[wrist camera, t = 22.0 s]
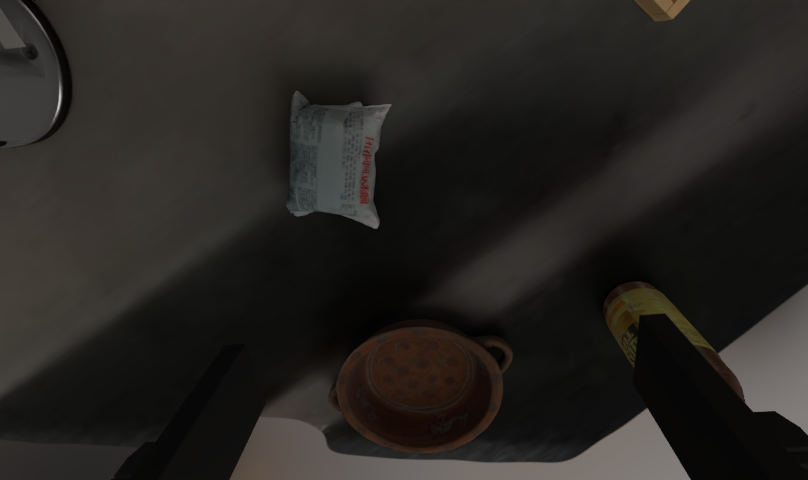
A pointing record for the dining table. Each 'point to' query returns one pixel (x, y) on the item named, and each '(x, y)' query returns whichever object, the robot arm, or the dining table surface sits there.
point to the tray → (662, 8)
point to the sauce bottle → (645, 300)
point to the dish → (421, 386)
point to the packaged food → (334, 158)
